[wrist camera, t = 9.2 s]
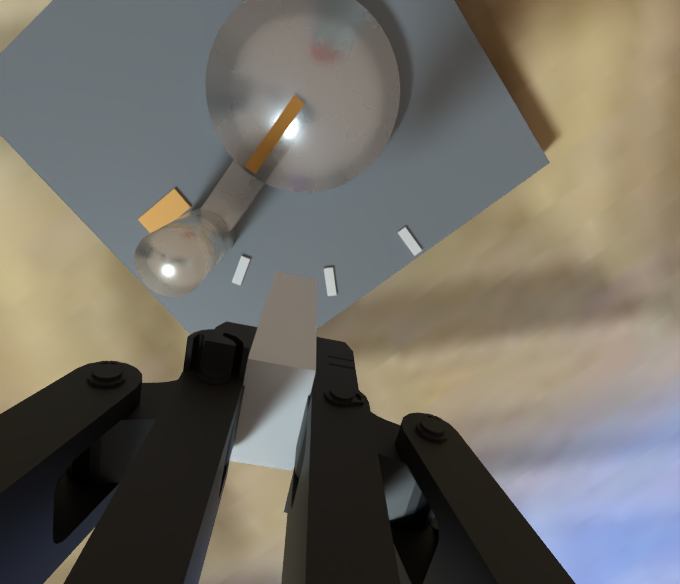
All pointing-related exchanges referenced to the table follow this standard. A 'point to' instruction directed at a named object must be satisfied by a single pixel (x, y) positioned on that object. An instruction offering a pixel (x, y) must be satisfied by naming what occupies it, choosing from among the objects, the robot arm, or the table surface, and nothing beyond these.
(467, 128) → the panel
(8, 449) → the robot arm
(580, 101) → the table surface
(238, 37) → the dial
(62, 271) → the table surface
